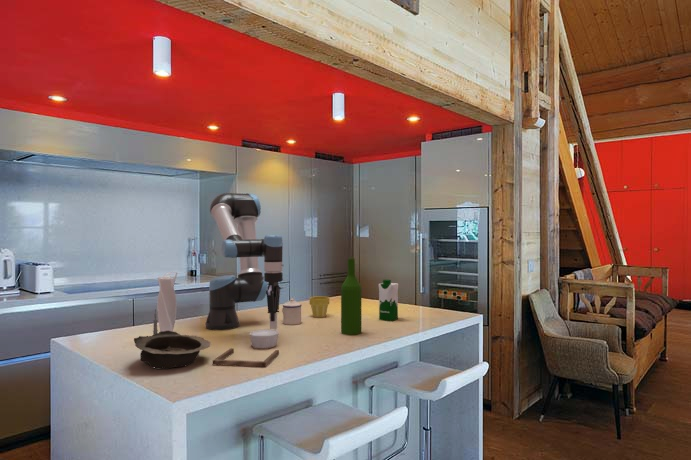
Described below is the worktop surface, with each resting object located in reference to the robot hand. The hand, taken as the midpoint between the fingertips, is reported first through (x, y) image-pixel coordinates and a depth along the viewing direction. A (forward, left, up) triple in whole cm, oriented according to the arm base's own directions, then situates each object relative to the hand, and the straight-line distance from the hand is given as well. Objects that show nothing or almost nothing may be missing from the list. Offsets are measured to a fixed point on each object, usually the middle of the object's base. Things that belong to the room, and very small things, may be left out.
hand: (273, 328), depth 186 cm
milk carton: (+46, +45, -4) cm, 64 cm away
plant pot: (+10, +48, -4) cm, 49 cm away
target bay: (0, -30, -4) cm, 30 cm away
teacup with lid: (-1, +31, -4) cm, 31 cm away
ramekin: (0, -12, -4) cm, 13 cm away
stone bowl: (-24, -37, -4) cm, 44 cm away
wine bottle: (+31, +14, -4) cm, 34 cm away
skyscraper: (-43, -8, -5) cm, 44 cm away
